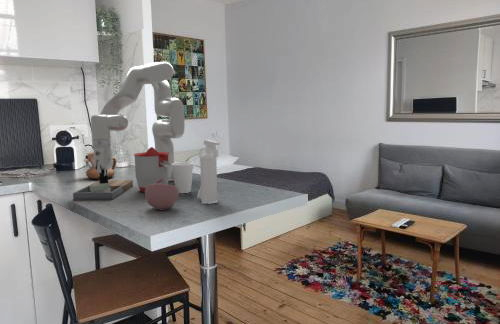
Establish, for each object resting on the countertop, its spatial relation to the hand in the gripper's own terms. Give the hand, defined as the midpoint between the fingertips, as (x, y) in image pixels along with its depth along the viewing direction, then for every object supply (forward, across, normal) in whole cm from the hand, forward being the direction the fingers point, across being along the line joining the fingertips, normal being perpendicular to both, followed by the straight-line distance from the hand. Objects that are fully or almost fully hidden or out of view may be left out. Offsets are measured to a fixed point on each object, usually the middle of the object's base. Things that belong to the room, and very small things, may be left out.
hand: (104, 184), depth 167 cm
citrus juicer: (+4, +5, -21) cm, 22 cm away
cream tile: (+3, -4, 0) cm, 5 cm away
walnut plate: (+4, +8, 0) cm, 9 cm away
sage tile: (+1, -4, 0) cm, 5 cm away
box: (+4, -6, 0) cm, 7 cm away
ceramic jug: (+4, +38, +16) cm, 42 cm away
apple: (+4, -28, -32) cm, 43 cm away
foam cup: (+4, 0, -35) cm, 35 cm away
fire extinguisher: (+4, -18, -48) cm, 51 cm away
